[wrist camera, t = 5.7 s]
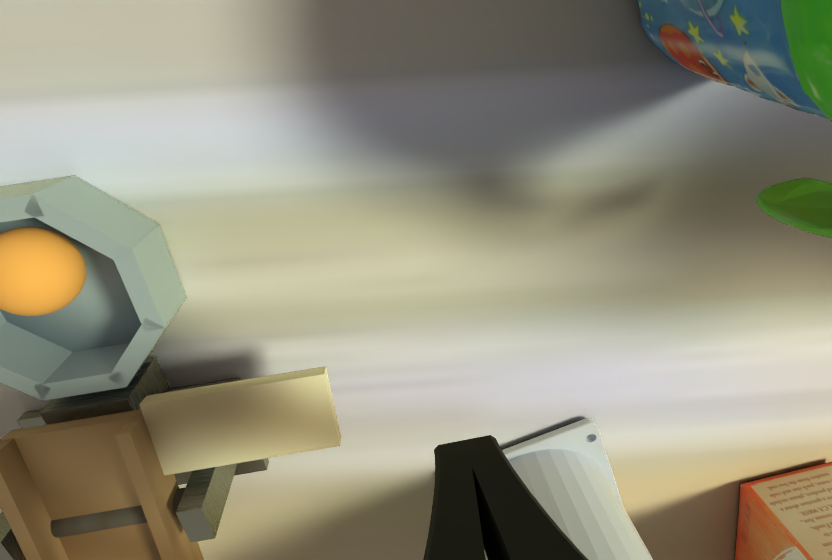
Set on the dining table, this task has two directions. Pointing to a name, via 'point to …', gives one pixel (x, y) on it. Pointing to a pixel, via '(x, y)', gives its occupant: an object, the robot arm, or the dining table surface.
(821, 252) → the dining table surface
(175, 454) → the lever
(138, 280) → the grey octagonal bowl
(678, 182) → the dining table surface
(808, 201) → the snack cup
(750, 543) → the cracker box
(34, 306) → the ball
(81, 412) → the fulcrum
